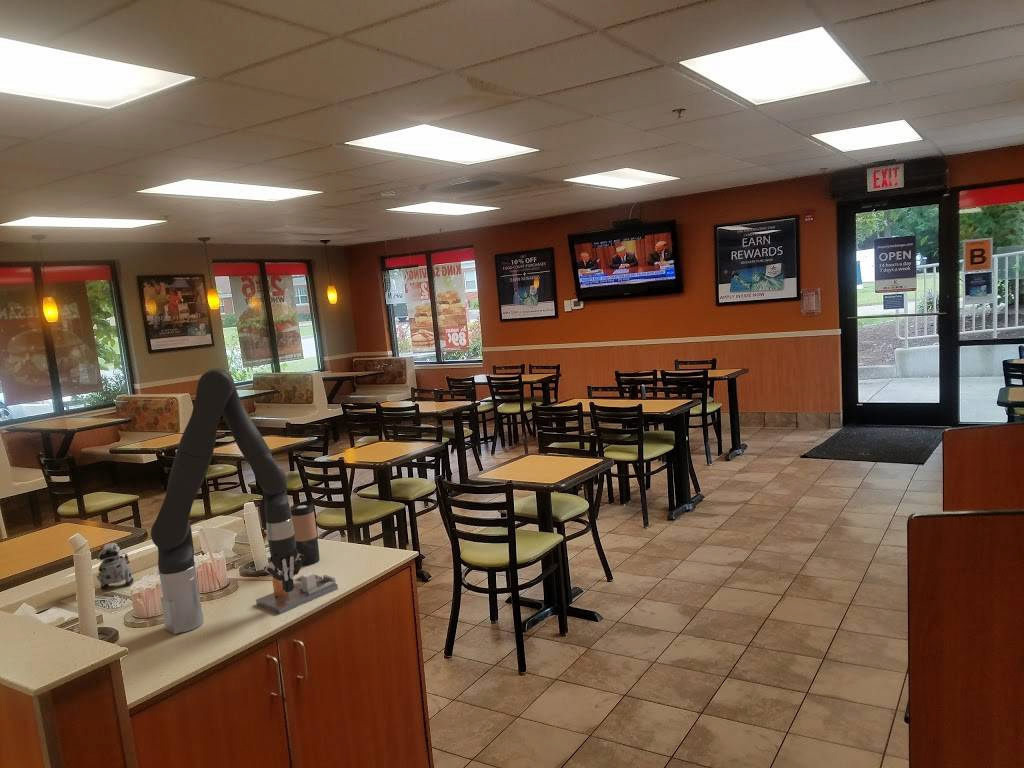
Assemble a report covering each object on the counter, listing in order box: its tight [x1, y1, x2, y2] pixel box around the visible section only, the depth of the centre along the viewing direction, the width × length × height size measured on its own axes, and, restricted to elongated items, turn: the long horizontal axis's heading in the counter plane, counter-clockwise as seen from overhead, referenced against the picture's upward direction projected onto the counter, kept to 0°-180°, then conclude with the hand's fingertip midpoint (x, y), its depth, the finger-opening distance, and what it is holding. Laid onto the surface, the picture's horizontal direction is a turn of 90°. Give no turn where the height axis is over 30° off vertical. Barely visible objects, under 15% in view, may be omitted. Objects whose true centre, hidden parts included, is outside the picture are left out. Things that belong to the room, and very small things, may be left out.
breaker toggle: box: [300, 571, 317, 593], centre depth 218 cm, size 3×3×5 cm
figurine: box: [96, 542, 135, 591], centre depth 239 cm, size 9×12×15 cm
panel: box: [255, 574, 339, 615], centre depth 218 cm, size 20×13×3 cm, turn 138°
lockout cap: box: [271, 573, 288, 597], centre depth 218 cm, size 4×4×6 cm
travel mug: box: [290, 501, 321, 567], centre depth 247 cm, size 8×8×20 cm
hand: (288, 591), depth 213 cm, fingers closed
